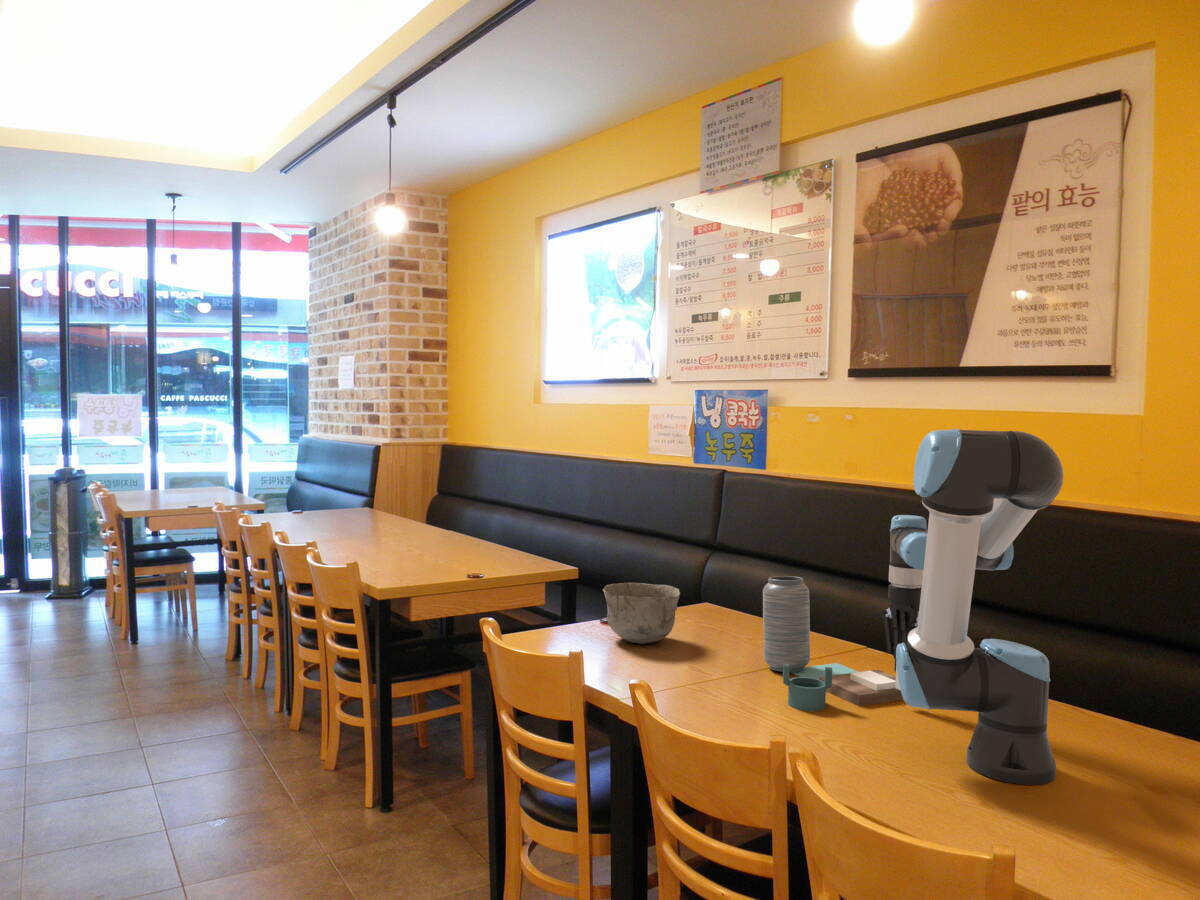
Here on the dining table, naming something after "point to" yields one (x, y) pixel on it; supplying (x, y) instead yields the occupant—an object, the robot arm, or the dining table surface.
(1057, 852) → the dining table surface
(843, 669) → the mat
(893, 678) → the brown wooden flat board
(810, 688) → the bracket
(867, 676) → the white rectangular block
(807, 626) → the vase
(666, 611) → the bowl
